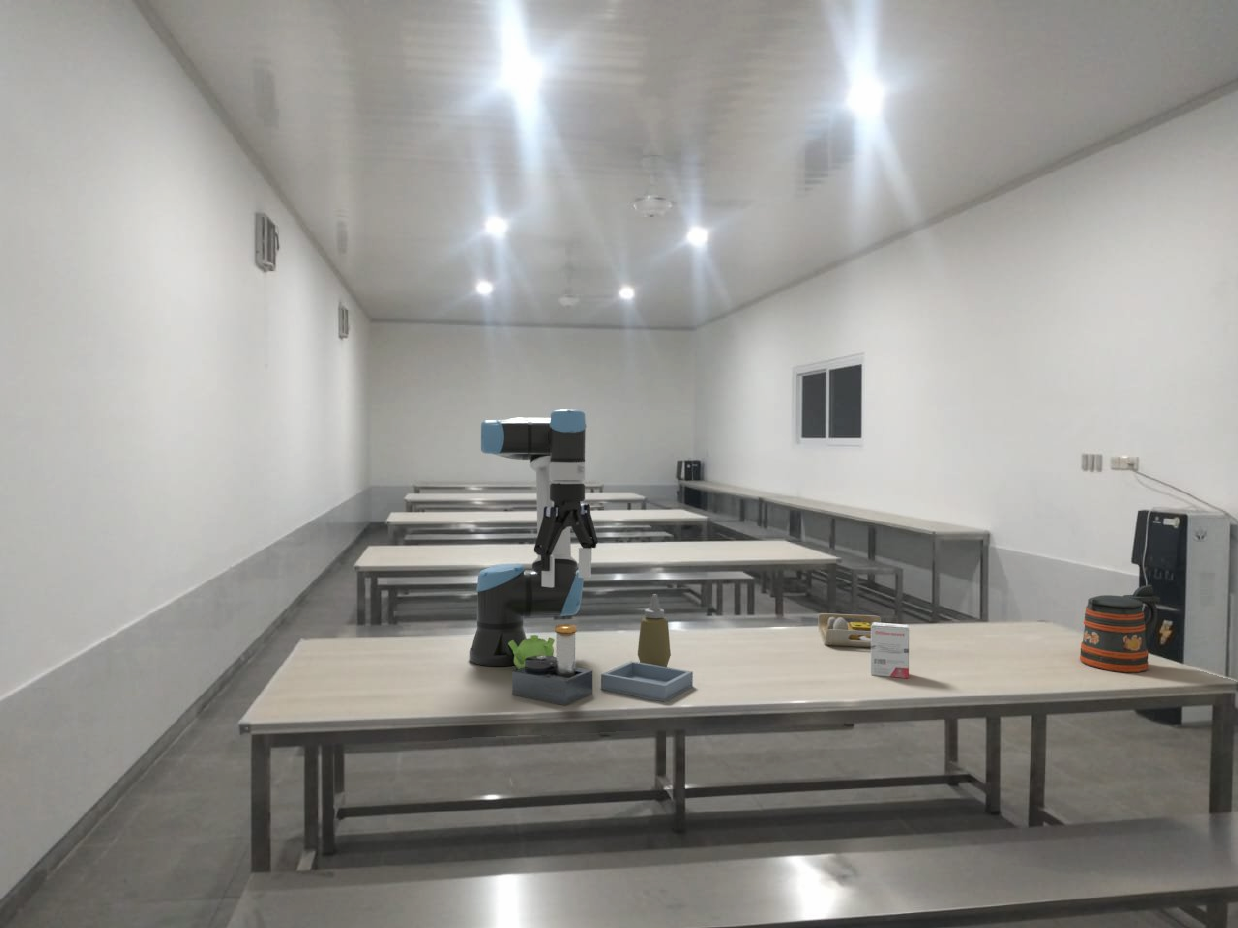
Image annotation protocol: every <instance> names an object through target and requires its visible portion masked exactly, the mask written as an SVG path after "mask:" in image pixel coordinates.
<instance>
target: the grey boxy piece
mask: <svg viewBox="0 0 1238 928" xmlns="http://www.w3.org/2000/svg"><path fill="white" fill-rule="evenodd" d="M511 676H512V677H511V681H512V682H511V684H512V685H511V686H512V687H511V689H512V690H511V691H512V692H511V695H513V696H514V695H515V696H519V697H523V698H528V699H534V700H536V701H542V702H547V703H550V704H557V705H562V706H568V705H570V704H572V703H574V702H577V701H579V700H581V699H582V698H585V697H588V696H589V695H592V694H593V669H588V668H582V667H576V666H575V676H572V677H570V678H566V677H561V676H556V656H554V657H553V656H547V655H537V656H531V657H528V658H526V659H525V667H522V668H520V669H518V668H517V669H514V670H512V672H511Z"/></svg>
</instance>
